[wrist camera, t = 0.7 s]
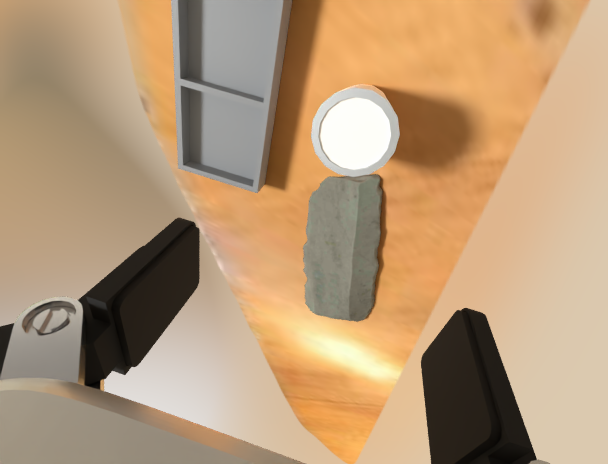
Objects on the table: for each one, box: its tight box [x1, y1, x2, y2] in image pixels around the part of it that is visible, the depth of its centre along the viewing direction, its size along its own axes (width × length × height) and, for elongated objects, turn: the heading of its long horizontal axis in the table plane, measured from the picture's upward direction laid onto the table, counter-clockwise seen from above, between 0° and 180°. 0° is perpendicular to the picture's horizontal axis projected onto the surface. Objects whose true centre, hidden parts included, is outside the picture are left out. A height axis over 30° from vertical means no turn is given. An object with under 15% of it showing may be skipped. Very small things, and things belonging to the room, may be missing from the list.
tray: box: [171, 0, 292, 193], centre depth 29 cm, size 10×19×2 cm, turn 168°
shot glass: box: [311, 84, 400, 177], centre depth 26 cm, size 7×7×7 cm
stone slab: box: [303, 174, 383, 321], centre depth 38 cm, size 22×3×10 cm
